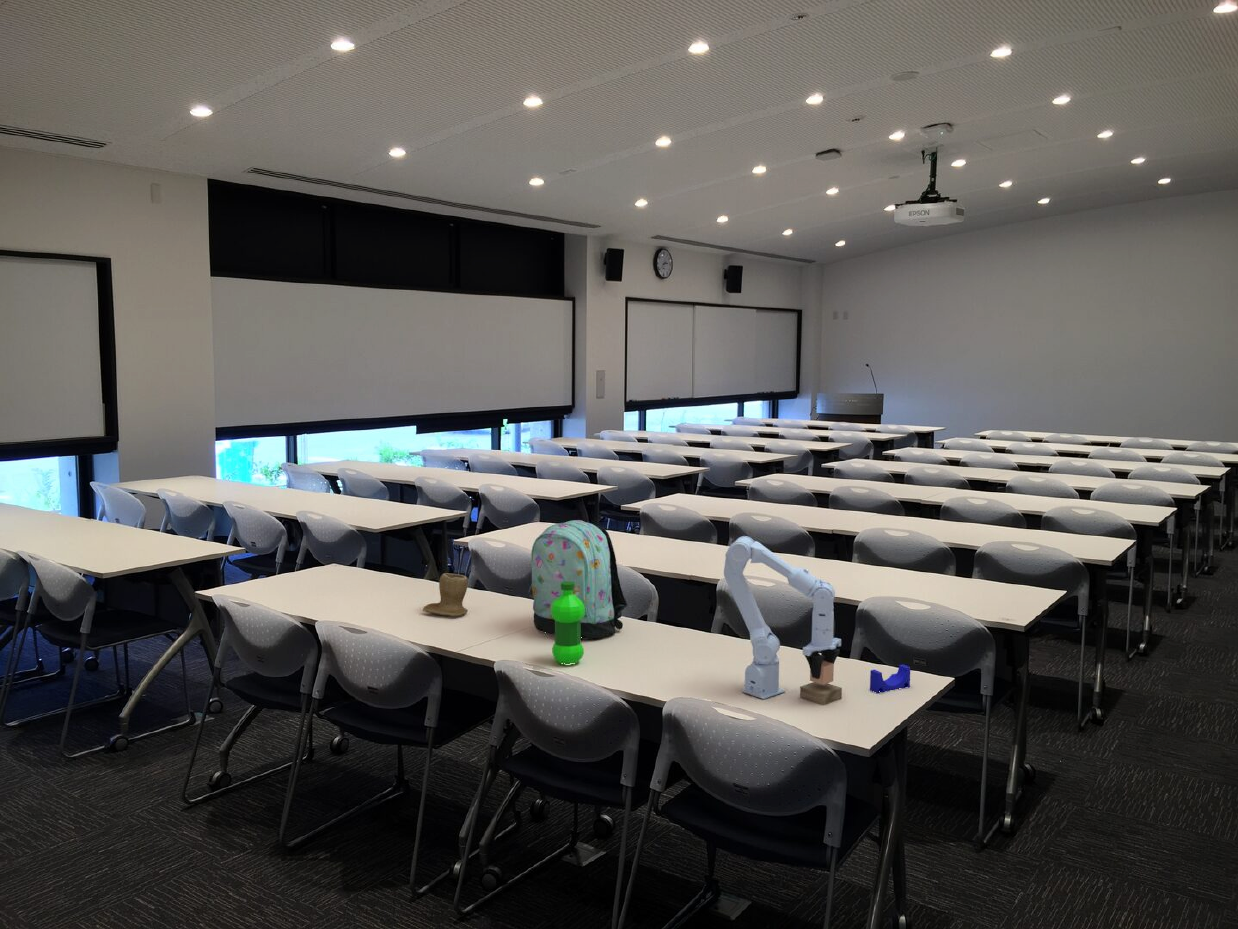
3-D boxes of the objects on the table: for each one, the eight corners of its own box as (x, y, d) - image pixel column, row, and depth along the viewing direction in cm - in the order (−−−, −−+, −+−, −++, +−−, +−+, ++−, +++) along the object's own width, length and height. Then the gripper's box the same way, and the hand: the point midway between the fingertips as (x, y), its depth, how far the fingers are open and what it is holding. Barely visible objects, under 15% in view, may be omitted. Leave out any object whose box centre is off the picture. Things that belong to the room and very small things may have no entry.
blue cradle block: (898, 683, 275) (899, 663, 274) (909, 687, 271) (910, 667, 270) (866, 689, 269) (866, 668, 269) (877, 694, 265) (877, 673, 265)
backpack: (515, 638, 317) (514, 524, 313) (546, 619, 340) (546, 513, 336) (604, 648, 306) (604, 530, 302) (630, 628, 329) (631, 519, 324)
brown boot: (475, 612, 349) (474, 572, 347) (455, 620, 338) (454, 579, 337) (442, 607, 356) (441, 568, 354) (421, 615, 345) (421, 574, 344)
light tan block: (823, 684, 258) (823, 667, 257) (809, 680, 261) (810, 663, 261) (833, 681, 261) (833, 663, 260) (820, 677, 264) (820, 659, 264)
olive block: (823, 705, 256) (823, 694, 256) (800, 697, 262) (800, 686, 262) (841, 698, 261) (841, 687, 261) (818, 690, 267) (818, 680, 267)
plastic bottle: (568, 670, 284) (568, 588, 281) (544, 663, 291) (543, 583, 288) (591, 662, 291) (591, 583, 289) (567, 655, 298) (567, 577, 296)
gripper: (817, 635, 252) (816, 685, 253) (850, 626, 261) (849, 673, 263) (796, 630, 257) (795, 678, 259) (829, 620, 267) (828, 667, 268)
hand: (821, 675), depth 261 cm, fingers closed on light tan block, 4 cm apart
